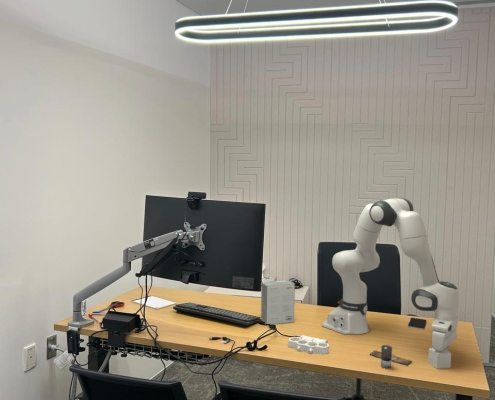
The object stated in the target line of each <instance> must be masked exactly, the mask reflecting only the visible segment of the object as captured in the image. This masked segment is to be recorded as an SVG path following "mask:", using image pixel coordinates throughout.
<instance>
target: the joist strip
mask: <svg viewBox="0 0 495 400" xmlns="http://www.w3.org/2000/svg"><path fill="white" fill-rule="evenodd" d="M369 356H371V357H375V358H377V359H381V351H378V350H373V351H372V352H370V353H369ZM395 362H396V364H400V365H402V366H406V367H407V366H409V365H410V364H411V363H413V361H412V359H411V360H410V359H407V358H403V357H401V356H400V357H399V356H397V355H395V354H392V360H391V363H395Z"/></svg>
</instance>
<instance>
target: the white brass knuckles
mask: <svg viewBox="0 0 495 400" xmlns="http://www.w3.org/2000/svg"><path fill="white" fill-rule="evenodd" d="M328 342H329V341H328V339H326V338H325V339H322V338H318V337H314V336H313V337H312V336H308V335H304V334H301V335H300V336H297V337H296V336H292V337H289V338H288V347H289V348H290V349H294V350H296V351H299V352H304V353H308V354H319V355H328V354H329V353H330V344H329V343H328Z"/></svg>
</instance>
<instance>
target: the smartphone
mask: <svg viewBox="0 0 495 400" xmlns="http://www.w3.org/2000/svg"><path fill="white" fill-rule="evenodd" d="M426 325H427V319H423V318H418V317H410V318H409V321H408V324H407V328H409V327H410V328H409V329H417V330H424V331H425V329H426Z"/></svg>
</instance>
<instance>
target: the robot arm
mask: <svg viewBox="0 0 495 400" xmlns="http://www.w3.org/2000/svg"><path fill="white" fill-rule="evenodd" d="M424 224H425V223H424V221H423V219H422V215H420V213H418V212H417V211H414V206H413V203H412V202H411V201H410V200H409V199H407V198H404V197H398V198H387V199H383V200H378V201H376V202H374V203H368V204H366V205H365V207H364V208H363V210H362V211H361V214H360V215H359V217H358V220H357V222H356V225H355V229H354V231H353V233H352V238H353V239H352V240H353V241H354V243H355V244H356V247H355V249H350V250H349V249H348V250H342V251H339V252H337V253H335V254H334V255H333V257H332V261H331V264H332V267H333V269H334V271H335V272H336V273H337V274H338V275H339V276H340V278H341V281H342V290H343V291H342V293H343V294H342V298H340V300H338V301H337V304H339V305H338V306H337V307H336V308H334V309H332V310H331V311H330V312H329V313H328V314H327V317H326V320H324V321H322V324H321V327H324V328H327V329H329V330H332V331H335V332H337V333H340V334H343V335H363V334H367V333H368V332H369V330H370V329H369V325H368V319H367V313H368V301H367V296H368V295H367V294H368V293H367V292H368V286H367V284H366V283H365V282H364V281H362V279H361V278H360V273H366V272H370V271H373V270H375V269H378V267H379V266H380V263H381V259H380V255H379V253H378V252H377V250H376V245H377V241H378V239H379V236H380V233H381V230H382V227H383V226H386V227H392V226H394V227H395V228H396V229H397V232H398V237H399V242H400V247H401V249H402V251H403V252H402V253H404V255H405V256H406V257H408V258H410V259H412V260H413V261H415V263H417V265H418V268H419V270H420V271H419V272H420V275H421V279H422V283H423V284H422V286H420V287H419V288H416V289H415V290H414V291H412V293H411V299H410V300H411V303H412V305H413V306H414V308H416V309H417V310H419V311H422V312H424V311H425V312H434V317H433V321H432V323H431V327H430V330H431V331H432V333H431V337H432V339H431V340H432V341H431V342H432V348H433V349H434V350H438V351H443V350H444V349H445V350H447V351H449V347H450V344H451V343H452V342H454V341H455V340H456V338H457V329H458V326H459V325H458V324H459V314H458V309H459V301H460V296H459V288H458V287H457V286H456V285H455V284H454V283H452V282H448V281H444V280H443V281H442V280H441V281H440V279H439V277H438V274H437V269H436V265H435V262H434V259H433V256H432V253H431V249H430V245H429V239H428V236H427V231H426V228H425V225H424Z"/></svg>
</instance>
